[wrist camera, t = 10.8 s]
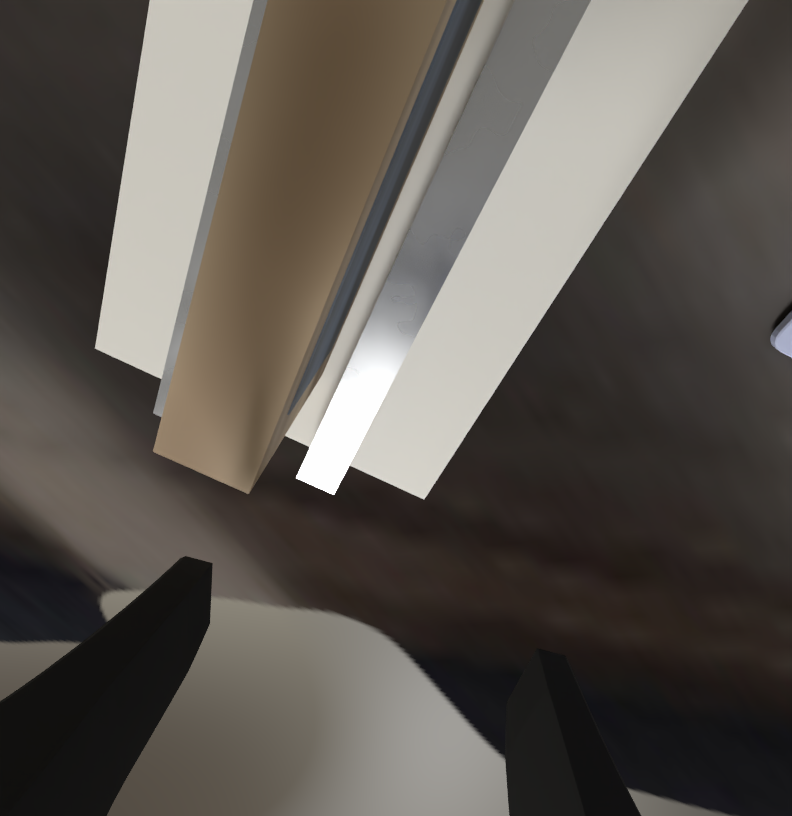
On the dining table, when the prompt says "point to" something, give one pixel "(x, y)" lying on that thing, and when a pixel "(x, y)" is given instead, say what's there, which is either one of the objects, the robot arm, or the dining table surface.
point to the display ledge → (411, 208)
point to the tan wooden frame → (301, 215)
